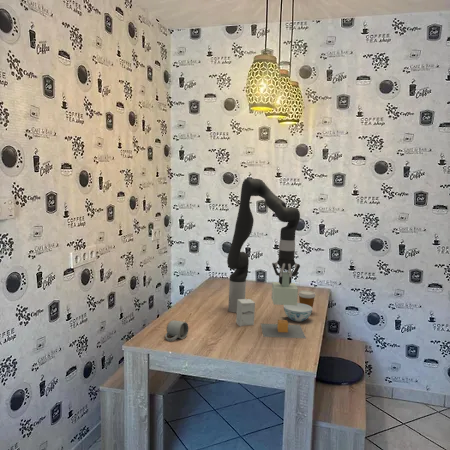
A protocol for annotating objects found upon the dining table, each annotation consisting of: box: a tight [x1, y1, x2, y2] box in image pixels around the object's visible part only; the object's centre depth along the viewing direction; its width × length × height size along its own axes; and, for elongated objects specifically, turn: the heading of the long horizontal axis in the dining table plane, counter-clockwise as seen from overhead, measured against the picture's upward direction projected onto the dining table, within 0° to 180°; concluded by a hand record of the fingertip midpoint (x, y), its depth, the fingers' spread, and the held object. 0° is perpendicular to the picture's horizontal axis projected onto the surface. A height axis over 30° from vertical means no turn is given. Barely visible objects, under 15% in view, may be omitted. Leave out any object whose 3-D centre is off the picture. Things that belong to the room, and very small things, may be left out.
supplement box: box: [235, 298, 256, 327], centre depth 220 cm, size 7×7×13 cm
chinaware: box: [283, 302, 313, 323], centre depth 229 cm, size 15×15×8 cm
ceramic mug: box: [165, 319, 189, 342], centre depth 200 cm, size 11×8×8 cm
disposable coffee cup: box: [298, 289, 316, 316], centre depth 243 cm, size 10×10×12 cm
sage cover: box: [271, 271, 299, 306], centre depth 209 cm, size 11×11×14 cm
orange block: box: [277, 319, 289, 332], centre depth 212 cm, size 4×4×4 cm
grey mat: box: [260, 323, 307, 339], centre depth 212 cm, size 20×18×1 cm
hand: (284, 283), depth 209 cm, fingers closed on sage cover, 3 cm apart
